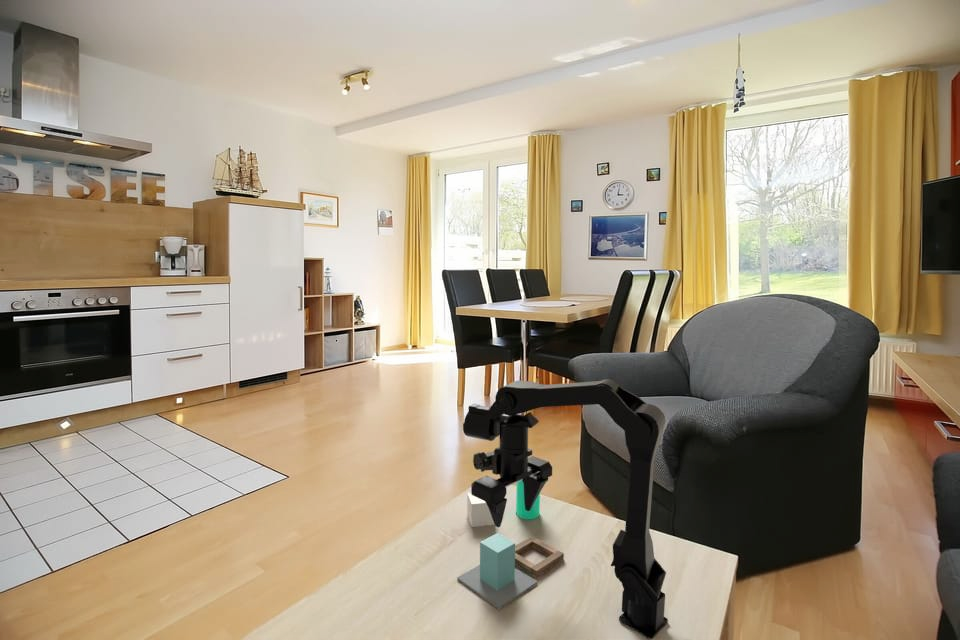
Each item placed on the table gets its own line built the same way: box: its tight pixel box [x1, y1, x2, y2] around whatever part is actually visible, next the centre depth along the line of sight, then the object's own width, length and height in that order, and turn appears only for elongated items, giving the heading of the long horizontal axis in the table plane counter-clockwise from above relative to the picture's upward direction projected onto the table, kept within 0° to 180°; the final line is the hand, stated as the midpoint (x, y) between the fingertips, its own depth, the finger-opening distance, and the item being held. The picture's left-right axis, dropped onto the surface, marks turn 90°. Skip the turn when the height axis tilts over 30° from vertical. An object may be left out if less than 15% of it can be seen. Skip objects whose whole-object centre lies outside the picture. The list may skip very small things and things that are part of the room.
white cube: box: [466, 492, 495, 528], centre depth 126 cm, size 6×6×6 cm
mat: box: [457, 564, 538, 610], centre depth 102 cm, size 12×11×1 cm
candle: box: [515, 480, 541, 520], centre depth 129 cm, size 6×6×12 cm
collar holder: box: [515, 535, 565, 578], centre depth 110 cm, size 9×9×2 cm
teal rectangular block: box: [479, 532, 516, 591], centre depth 101 cm, size 5×5×8 cm
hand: (513, 518), depth 102 cm, fingers open, 9 cm apart
